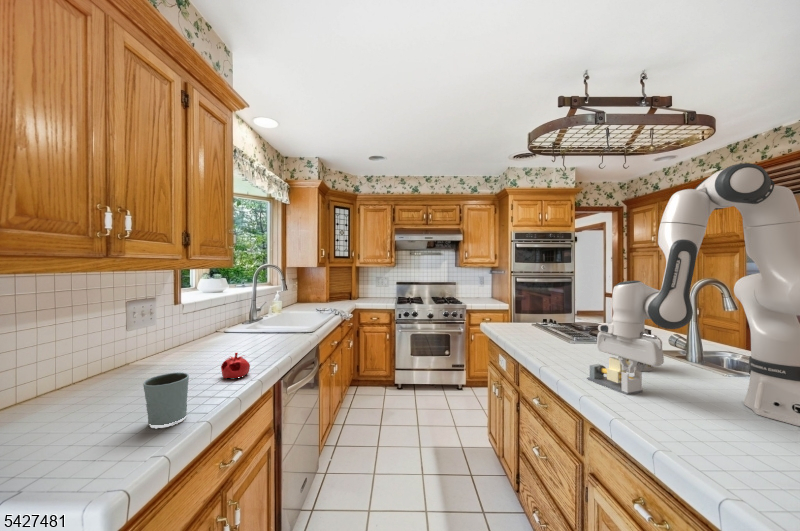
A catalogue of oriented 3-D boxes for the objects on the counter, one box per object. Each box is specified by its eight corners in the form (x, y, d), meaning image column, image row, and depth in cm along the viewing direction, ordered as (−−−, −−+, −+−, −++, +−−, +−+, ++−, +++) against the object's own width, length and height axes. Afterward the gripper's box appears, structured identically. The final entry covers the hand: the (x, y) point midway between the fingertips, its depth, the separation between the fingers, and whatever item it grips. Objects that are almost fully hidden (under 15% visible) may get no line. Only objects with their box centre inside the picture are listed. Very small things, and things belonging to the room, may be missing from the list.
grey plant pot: (195, 412, 96) (195, 371, 96) (178, 429, 86) (178, 383, 86) (157, 415, 94) (156, 373, 94) (135, 433, 84) (134, 386, 84)
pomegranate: (234, 372, 132) (234, 349, 132) (255, 373, 130) (255, 350, 130) (214, 380, 123) (214, 355, 123) (236, 382, 120) (236, 356, 120)
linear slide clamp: (642, 391, 108) (642, 371, 108) (626, 394, 106) (626, 374, 106) (601, 377, 122) (601, 359, 122) (586, 379, 120) (586, 361, 120)
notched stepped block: (626, 381, 111) (626, 359, 111) (617, 383, 110) (617, 361, 110) (615, 377, 115) (614, 356, 115) (606, 379, 114) (606, 357, 114)
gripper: (669, 335, 100) (668, 381, 100) (607, 323, 119) (607, 362, 119) (654, 337, 98) (654, 383, 98) (593, 325, 117) (593, 363, 117)
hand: (627, 371), depth 109 cm, fingers closed
